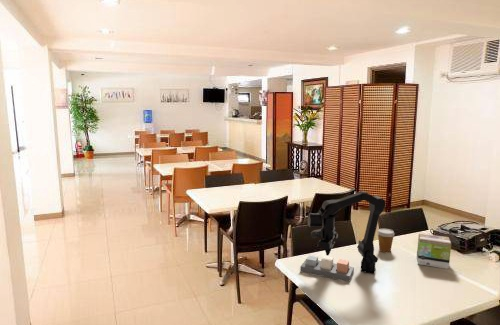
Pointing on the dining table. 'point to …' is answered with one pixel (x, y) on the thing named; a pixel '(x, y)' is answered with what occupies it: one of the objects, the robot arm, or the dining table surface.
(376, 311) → the dining table surface
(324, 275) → the grey slotted tray
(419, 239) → the tea box
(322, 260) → the cream key
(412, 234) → the dining table surface
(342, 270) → the terracotta key
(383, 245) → the disposable coffee cup
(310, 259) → the light grey cube
